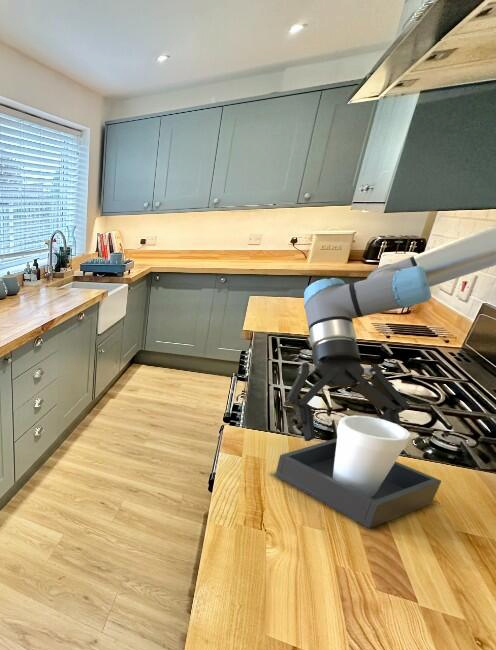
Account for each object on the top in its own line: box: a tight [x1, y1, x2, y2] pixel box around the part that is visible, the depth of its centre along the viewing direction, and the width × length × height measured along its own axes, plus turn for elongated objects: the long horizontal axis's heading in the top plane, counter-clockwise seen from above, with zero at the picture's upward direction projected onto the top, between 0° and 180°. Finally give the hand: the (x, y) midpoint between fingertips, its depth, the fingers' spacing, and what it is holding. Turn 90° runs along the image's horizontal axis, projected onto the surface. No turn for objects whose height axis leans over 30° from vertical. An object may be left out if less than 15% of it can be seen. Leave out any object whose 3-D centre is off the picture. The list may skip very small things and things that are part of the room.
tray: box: [274, 437, 442, 529], centre depth 80 cm, size 17×17×5 cm
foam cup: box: [333, 414, 411, 497], centre depth 77 cm, size 10×9×13 cm
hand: (350, 442), depth 81 cm, fingers open, 13 cm apart
